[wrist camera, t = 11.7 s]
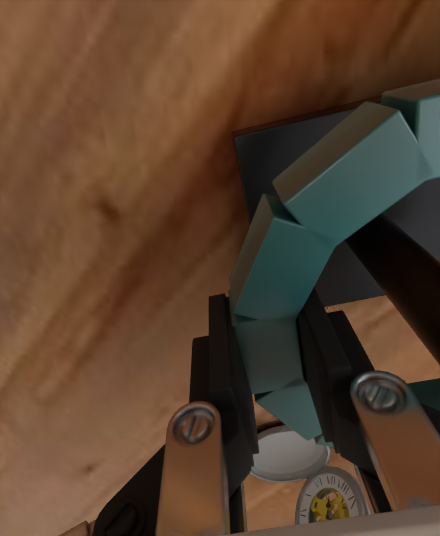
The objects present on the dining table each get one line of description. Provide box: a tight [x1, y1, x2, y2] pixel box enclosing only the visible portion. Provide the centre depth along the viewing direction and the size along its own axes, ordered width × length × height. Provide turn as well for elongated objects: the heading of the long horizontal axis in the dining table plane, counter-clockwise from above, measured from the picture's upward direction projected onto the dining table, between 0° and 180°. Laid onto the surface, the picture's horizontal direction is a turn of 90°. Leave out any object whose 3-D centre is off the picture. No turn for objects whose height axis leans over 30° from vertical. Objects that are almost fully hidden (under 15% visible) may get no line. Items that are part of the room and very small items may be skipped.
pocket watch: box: [250, 425, 371, 525], centre depth 24 cm, size 8×8×10 cm
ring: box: [229, 78, 440, 448], centre depth 11 cm, size 13×13×2 cm
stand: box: [232, 96, 440, 365], centre depth 13 cm, size 10×10×13 cm
